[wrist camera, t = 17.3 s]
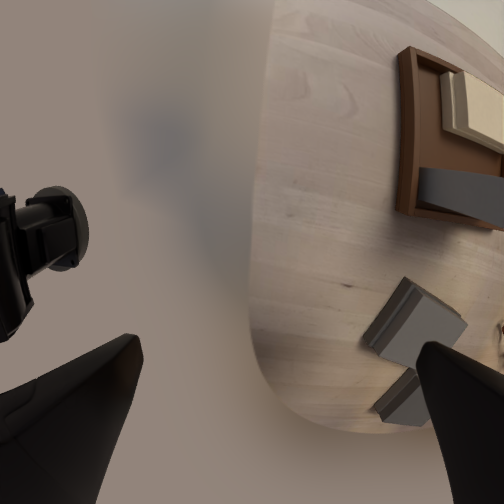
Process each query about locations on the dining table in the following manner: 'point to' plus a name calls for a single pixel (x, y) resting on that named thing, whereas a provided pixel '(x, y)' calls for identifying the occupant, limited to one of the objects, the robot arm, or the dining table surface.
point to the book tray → (433, 139)
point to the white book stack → (473, 110)
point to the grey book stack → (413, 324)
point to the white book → (464, 193)
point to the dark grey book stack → (404, 402)
